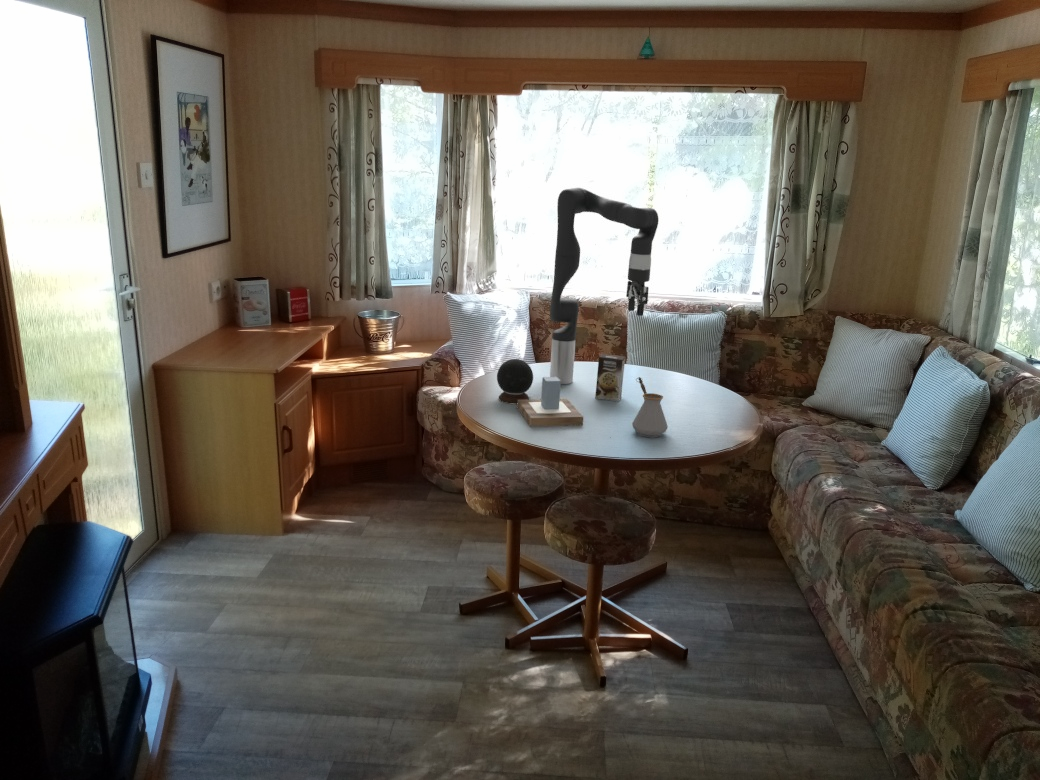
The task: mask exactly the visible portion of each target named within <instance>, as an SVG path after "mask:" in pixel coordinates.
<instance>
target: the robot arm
mask: <svg viewBox="0 0 1040 780" xmlns="http://www.w3.org/2000/svg"><path fill="white" fill-rule="evenodd" d="M556 212H557V232H556V234H557V235H556V247H555V256H554V271H553V272H554V274H553V285H552V291H551V299H550V305H549V317H550V320H551V321H552V322H554V323H566V324H565V325H564V326H563V327H561V328H557V329H554V331H552V335H551V351H550V364H549V365H550V368H549V377H557V378H558V379H559V380H560V381H561V384H560V385H568V384H571V383H573V381H574V368H575V353H576V351H575V350H576V339H577V336H576V335H577V326H578V318H579V311H580V310H579V309H580V308H579V302H578V301H579V300H577V299H576V298H566V297H565V298H562V294H563V291H564V290H565V287H566V285H567V284H568V283H569V282H570V281H571V279H572V278H573V277H574V276H575V274H576V273H577V271H578V270H579V266H580V257H581V247H580V242H579V241H578V238H577V235H576V234H575V216H576V215H578V214H581V213H593V214H598V215H600V216H602V217H603V218H604V219H606V220H609V221H610V222H614V223H619V224H623V225H625V226H627V227H629V228H631V229H634V230H638V233H637V235H635V236H634V237H632V239H631V243H630V245H631V247H630V255H629V259H628V270H627V271H628V272H627V280H628V281H627V287H626V295H625V297H626V298H627V300H628V303H627V304H628V305H627V310H628V311H630V312H634V311H635V308H636V307H637V308H636V315H637V316H639V317H642V316H644V312H645V311H644V310H645V309H644V308H645V305H648V300H649V286H645V284H646V282H650V277H651V268H652V267H651V266H652V249H653V241H654V239H655V236H656V232H657V231H658V230H657V229H658V226H659V214H658V212H657V210H655V208H653V207H636V206H633V205H631V204H629V203H628V202H622V201H620V200H615V199H609V198H608V197H607V198H606V197H604V196H600V195H598V194H596V193H593V192H592V191H590V190H587V189H585V188H582V187H570V188H565V189H563V190H561V192H560V193H559V194H558V198H557V211H556ZM636 305H637V306H636Z"/></svg>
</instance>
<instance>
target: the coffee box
mask: <svg viewBox="0 0 1040 780" xmlns="http://www.w3.org/2000/svg"><path fill="white" fill-rule="evenodd" d="M597 363H598V364H597V374H596V376H597V377H596V386H595V396H594V397H595V398H594V399H597V400H604V401H605V400H606V401H613V402H619V401H620V400H621V399H622V392H623V383H624V373H625V372H624V371H625V364H626V356H624V355H623V356H622V355H616V354H607V353H601V354H600V355H599V357H598V362H597Z"/></svg>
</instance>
